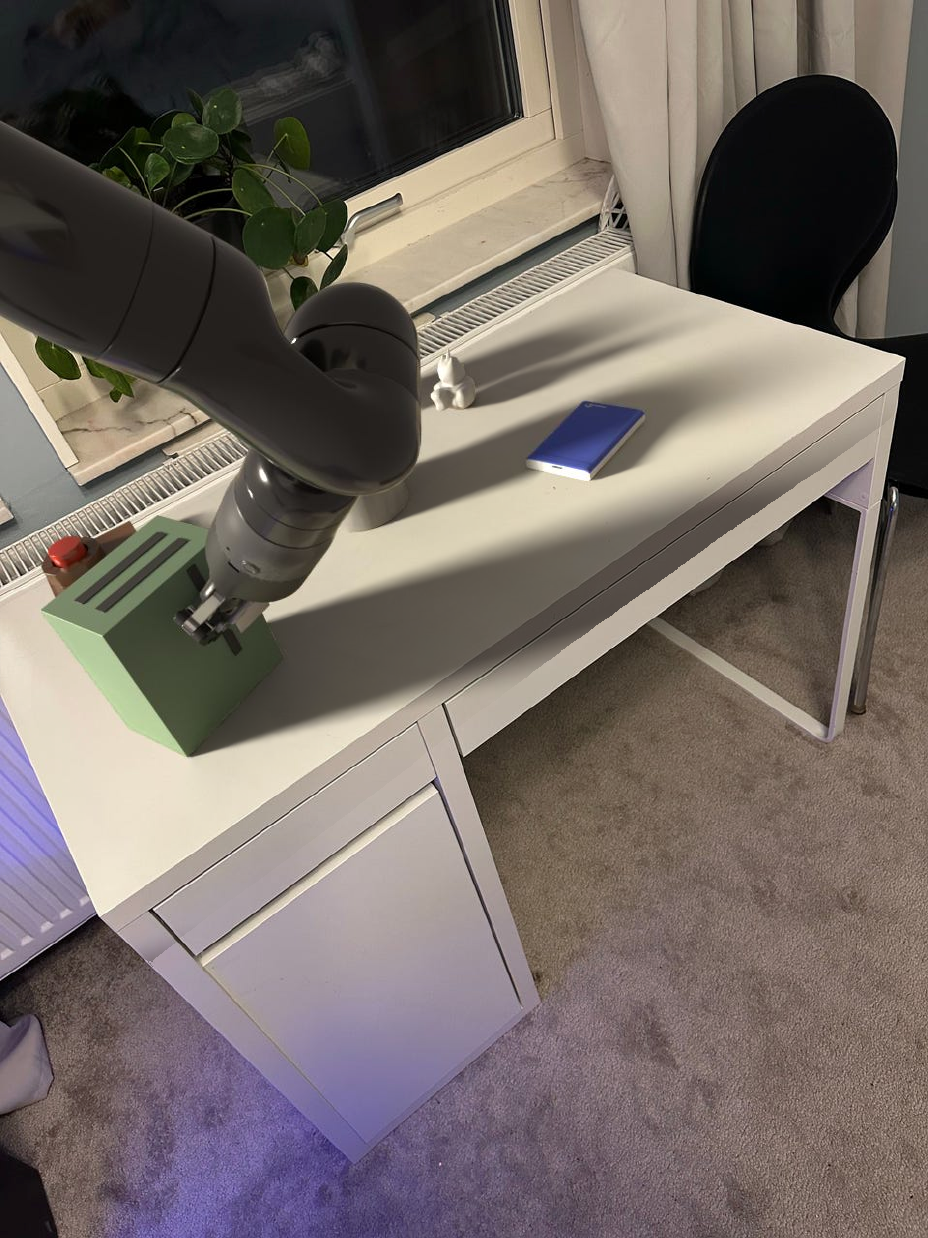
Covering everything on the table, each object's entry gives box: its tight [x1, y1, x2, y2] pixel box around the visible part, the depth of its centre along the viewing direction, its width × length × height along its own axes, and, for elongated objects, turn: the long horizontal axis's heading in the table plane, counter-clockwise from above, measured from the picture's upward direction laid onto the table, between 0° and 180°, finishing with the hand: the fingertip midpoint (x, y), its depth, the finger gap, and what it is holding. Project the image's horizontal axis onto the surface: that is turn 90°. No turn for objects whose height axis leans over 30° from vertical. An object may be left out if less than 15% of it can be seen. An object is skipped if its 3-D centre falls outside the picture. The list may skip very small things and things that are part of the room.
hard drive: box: [525, 400, 646, 482], centre depth 95 cm, size 2×8×12 cm
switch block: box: [40, 520, 138, 598], centre depth 96 cm, size 11×9×4 cm
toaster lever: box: [191, 593, 271, 633], centre depth 69 cm, size 4×5×2 cm
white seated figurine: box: [430, 347, 476, 412], centre depth 105 cm, size 5×7×8 cm
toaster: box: [39, 514, 285, 758], centre depth 74 cm, size 13×9×15 cm, turn 148°
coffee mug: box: [337, 479, 409, 533], centre depth 93 cm, size 13×10×10 cm
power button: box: [47, 535, 87, 568], centre depth 94 cm, size 4×4×2 cm
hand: (223, 615), depth 71 cm, fingers closed on toaster lever, 3 cm apart
